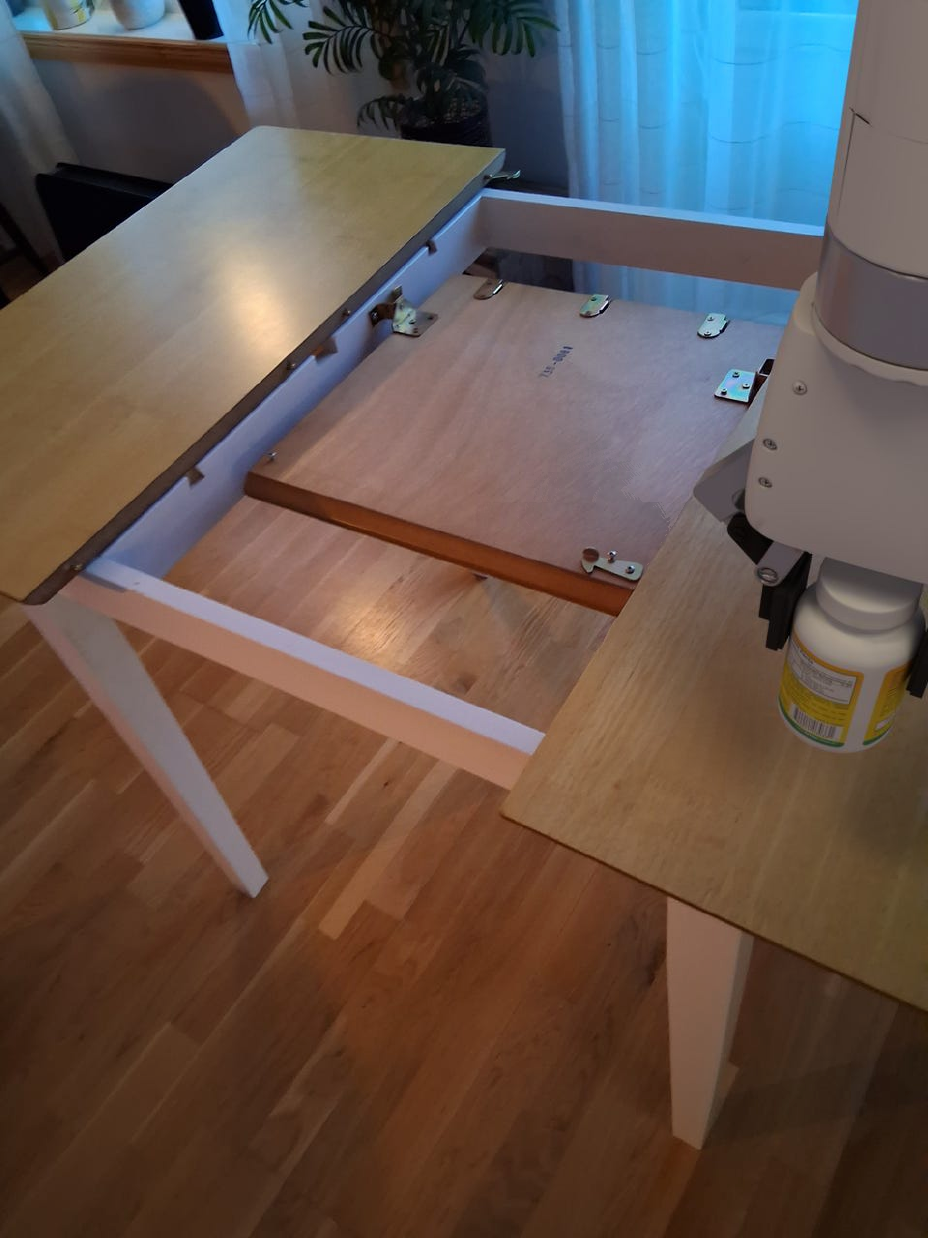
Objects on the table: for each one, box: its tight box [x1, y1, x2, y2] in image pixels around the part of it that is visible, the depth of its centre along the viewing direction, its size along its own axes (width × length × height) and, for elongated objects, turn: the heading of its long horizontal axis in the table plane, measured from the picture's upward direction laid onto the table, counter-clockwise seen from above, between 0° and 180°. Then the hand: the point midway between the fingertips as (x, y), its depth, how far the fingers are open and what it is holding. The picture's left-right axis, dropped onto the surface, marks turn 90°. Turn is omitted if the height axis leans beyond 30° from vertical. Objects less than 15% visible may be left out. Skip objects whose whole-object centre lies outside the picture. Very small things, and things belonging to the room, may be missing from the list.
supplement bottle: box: [777, 557, 927, 754], centre depth 41 cm, size 5×5×10 cm
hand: (851, 647), depth 41 cm, fingers closed on supplement bottle, 5 cm apart
